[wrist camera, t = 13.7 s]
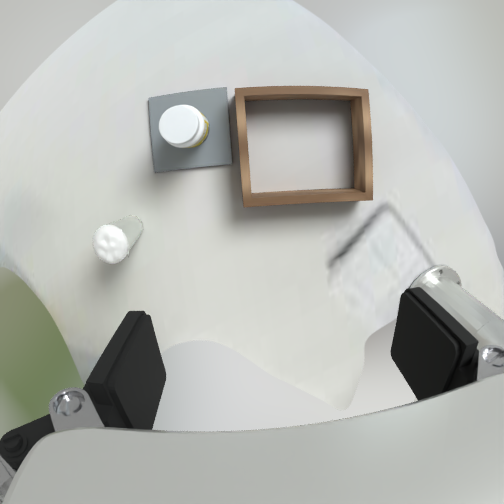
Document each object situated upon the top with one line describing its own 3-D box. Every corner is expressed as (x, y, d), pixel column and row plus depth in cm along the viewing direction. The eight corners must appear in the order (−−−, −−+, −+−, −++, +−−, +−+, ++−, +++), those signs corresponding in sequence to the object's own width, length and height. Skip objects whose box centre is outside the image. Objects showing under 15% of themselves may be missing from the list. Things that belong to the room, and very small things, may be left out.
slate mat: (232, 163, 37) (232, 163, 37) (155, 172, 37) (154, 172, 36) (226, 87, 34) (226, 87, 33) (149, 98, 34) (148, 97, 33)
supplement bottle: (167, 120, 34) (148, 113, 26) (201, 105, 34) (191, 93, 26) (181, 154, 36) (165, 155, 28) (215, 139, 36) (209, 135, 28)
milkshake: (151, 246, 40) (127, 275, 31) (116, 239, 40) (85, 265, 30) (155, 214, 39) (130, 235, 29) (119, 207, 38) (86, 226, 29)
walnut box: (360, 195, 39) (372, 200, 35) (243, 201, 39) (243, 207, 35) (356, 94, 34) (368, 89, 31) (235, 94, 34) (234, 88, 30)
